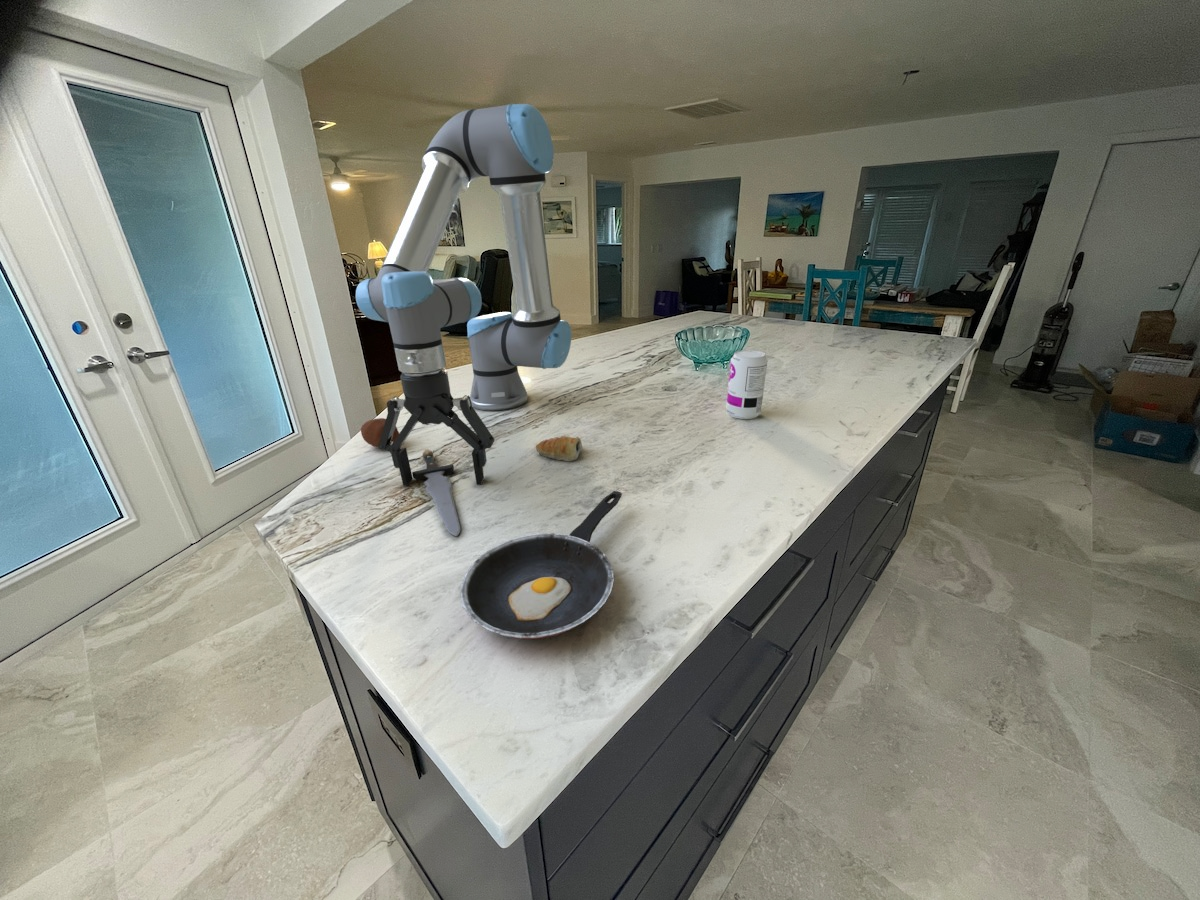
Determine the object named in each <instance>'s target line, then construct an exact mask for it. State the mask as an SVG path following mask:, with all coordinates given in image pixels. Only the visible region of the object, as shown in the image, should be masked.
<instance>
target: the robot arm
mask: <svg viewBox="0 0 1200 900" xmlns="http://www.w3.org/2000/svg"><path fill="white" fill-rule="evenodd" d="M554 155H555V154H554V145H553V140H552V135H551V132H550V129H549V127H548V124H547V121H546V120H545V118H544V116H543V114H542V113H541V111H539V110H538V108H536V106H534V105H531V104H528V103H509V104H505V105H497V106H490V107H483V108H476V109H475V108H474V109H473V108H472V109H465V110H462V111H461V112H459V113H456V114H455V115H454V116H452V117H451V118H450V119H448V120H447V121H446V122H445V123H444V124H443V125H442V126H441V127H440V129H438V131H437V132H436V134H435V135H434V136H433V138H432V140H431V141H430V142H429V144H428V146H427V148H426V150H425V152H424V155H423V157H422V159H421V168H422V170H423V171H422V173H421V175H420V178H419V180H418V182H417V184H416V187H415V189H414V192H413V194H412V196H411V198H410V201H409V202H408V205H407V208H406V210H405V211H404V214H403V216H402V218H401V221H400V223H399V225H398V228H397V230H396V233H395V235H394V237H393V239H392V242H391V244H390V246H389V248H388V251H387V252H386V255H385V258H384V260H383V262H382V264H381V267H380V269H379V271H378V273H377V275H376V278H375V277H370V278H366V279H364V280H362V281H361V282H359V283H358V285H357V287H356V289H355V301H356V305H357V307H358V309H359V311H360V312H361V313H362V315H363V316H364V317H366V318H368V319H370V320H373V321H379V322H384V323H388V325H389V329H390V334H391V338H392V343H393V349H394V353H395V358H396V362H397V367H398V371H399V372H401V374H400V383H401V387H402V393H403V395H404V398H399V397H398V396H396V395H394V396H393V397H392V398H390V399H389V400H388V401H387V402H386V409H387V414H386V418H385V419H386V421H385V425H384V428H383V431H382V435H381V438H380V442H379V445H378V450H380V451H384V450H385V451H388V452H389V453H390V455H391V459H392V463H393V466H394V468H395V469H399V473H400V479H401V482H402V486H403V487H408V486H409V484H410V483H411V482H412V480H414V478H413V475H412V469H411V465H410V459H409V455H408V451H407V450H408V449H407V447H402V446H403V444H404V443H405V441H406V440H407V438H408V437H409V436H410V434H411V433H412V431H413V430H414V428H415V427H416V425H417V424H418V423H420V424H421V425H429V424H434V425H440V424H442V423H443V424H444V425H445V426H446V427H448V428H451V429H452V431H454V432H455V433H456V434H457V435H458V436H459V437H461V438H462V439H463V440H464V441H465V442H466V443H467V444H468V445H469V446H470V447H471V448H472V449H473V450H472V451H471V458H472V465H473V470H474V477H475V478H474V479H475V483H476V485H479V486H480V485H482V483H483V481H484V478H485V474H484V468H483V467H486V464H487V461H488V459H487V451H486V449H491V448H492V446H493V445H494V442H495V437H494V436H493V434H492V433H491V432H490V431H489V429H488V427H487V426H486V425H485V423H484V421H483V420H482V418H481V417H480V416H479V414H478V412H477V411H476V410H480V411H481V410H482V411H492V412H493V411H505V410H510V409H514V408H517V407H520V406H522V405H524V404H525V403H526V402H528V391H527V389H526V387H525V385H524V382H523V380H522V378H521V376H520V373H519V370H518V367H523V368H524V367H525V368H537V369H543V370H545V369H558V368H560V367H562V366H563V364H564V363H565V362H566V361H567V358H568V356H569V353H570V351H571V350H570V349H571V345H572V328H571V326H570V324H569V322H568V321H566V320H564V319H562V318H561V311H560V309H559V308H557V307H556V306H555V305H554V303H553V294H552V285H551V278H550V271H549V260H548V252H547V251H548V250H547V242H546V234H545V226H544V217H543V208H542V207H543V206H542V200H541V190H542V189H543V188H544V186H545V184H546V183H547V181H546V180H547V179H546V174H547V173H549V172H550V171H551V170H552V168H553V166H554V161H553V160H554V158H555V157H554ZM480 177H488V180H489V185H490V188H491V189H492V190H494V192H496V193H497V194H498V196H499V201H500V207H501V215H502V221H503V227H504V233H505V240H506V247H507V252H508V253H507V254H508V257H509V258H508V259H509V265H510V272H511V278H512V285H513V291H514V296H515V297H514V298H515V303H516V309H515V311H514V312H513V313H512V312H510V311H502V312H501V311H500V312H495V313H489V314H482V315H480V316H478V314H479V313H480V312H481V309H482V305H483V304H482V294H481V291H480V290H479V288H478V287H477V285H476V284H475V283H474V282H473V281H472V280H470V279H468V278H466V277H465V278H464V277H450V278H445V279H432V275H431V274H430V273H429V269H430V267H431V264H432V262H433V260H434V257H435V255H436V252H437V250H438V247H439V245H440V242H441V240H442V238H443V235H444V232H445V231H446V227H447V226H448V223H449V220H450V218H451V216H452V213H453V211H454V209H455V206H456V204H457V200H458V199H459V196H460V194H463V193H465V192H467V190H468V188H469V186H470V183H471V182H472V181H473V180H474V179H475V180H476V179H478V178H480ZM466 322H467V324H466V327H467V328H466V329H467V330H466V331H467V336H466V337H467V339H468V346H469V353H470V360H471V367H472V371H473V372H472V373H473V379H472V384H471V389H470V395H468V394H464V396H462V397H456V398H454V397H453V396H452V394H451V393H452V392H451V385H450V381H449V375H448V370H447V369H446V368H445V367H446V366H447V362H446V357H445V350H444V345H443V344H444V343H443V340H442V339H443V338H442V333H441V329H443V328H445V327H451V326H453V325H457V324H465V323H466ZM454 407H456V408H457V409H458V411H461V413H462V415H463V416H464V418H465V420H466V422H467V423H468V424H469V425H470V427H469V426H468V425H467V424H466V423H465V421H463V420H462V419H461V418H460V417H459V415H458V413H456V412H455V411H454V410H453V408H454ZM403 409H405V410H406V411H407V412H408V413H410V417H409V418H408V420H407V421H406V423H405V425H404V426H402V429H401V430H400V432H399V435H398V436H397V438H396V439H395V441H394V442H392V441H391V440H392V436H393V433H394V430H395V427H397V423H398V420H399V418H400V413H401V411H402V410H403ZM471 428H472V429H471Z"/></svg>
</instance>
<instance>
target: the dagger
mask: <svg viewBox="0 0 1200 900" xmlns="http://www.w3.org/2000/svg"><path fill="white" fill-rule="evenodd" d="M422 459H423V461H424V462H425V465H426V468H424V469H419V470H415V471H411V473H412V478H413V480H416V481H419V480H424V479H426V480H425V481H424V482H423V484H425V486H426V488H425V492H427V493H428V494H429V495H430V496H431V498H432V499H433V501H434V504H435V506H436V508H437V510H438V513H439V515H440V517H441V519H442V521H443V524H444V525H445V528H446V530H447V531H448V533H449V534H450V535H452V536H455V537H458V536H459V534H460V533H461V530H462V529H461V523H460V519H459V516H458V512H457V508H456V504H455V501H454V497H453V493H452V490H453V487H454V484H453V483H451V482H450V477H449V476H446V475H452V474H453V473H454V471H455V467H454V464H447V465H441V466H438V465H437V463H436V461H435V459H434V451H432V450H430V449H427V448H426V449H424V450H423V452H422Z"/></svg>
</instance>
